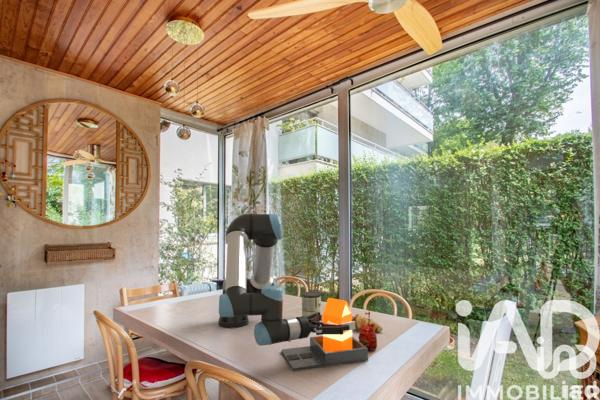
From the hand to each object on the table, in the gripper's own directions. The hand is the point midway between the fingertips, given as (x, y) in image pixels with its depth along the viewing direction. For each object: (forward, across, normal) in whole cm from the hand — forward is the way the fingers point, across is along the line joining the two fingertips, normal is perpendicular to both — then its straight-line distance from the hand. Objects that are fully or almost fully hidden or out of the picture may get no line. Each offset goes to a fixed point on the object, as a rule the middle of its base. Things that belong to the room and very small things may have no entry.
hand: (344, 320), depth 122 cm
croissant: (+24, -20, -13) cm, 34 cm away
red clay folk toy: (+11, +1, -13) cm, 17 cm away
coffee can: (+9, -42, -13) cm, 45 cm away
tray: (-9, -1, -12) cm, 16 cm away
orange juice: (-3, 0, -12) cm, 12 cm away
